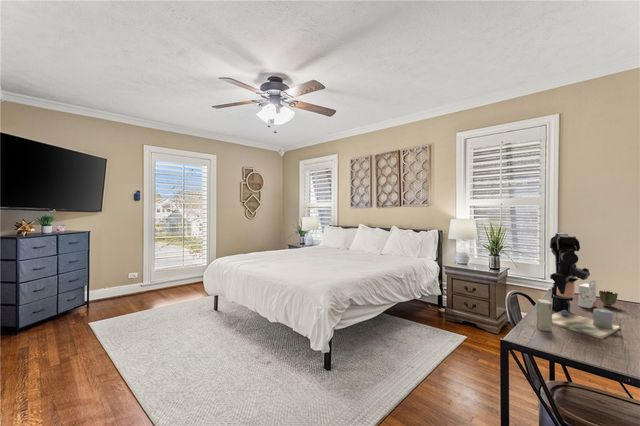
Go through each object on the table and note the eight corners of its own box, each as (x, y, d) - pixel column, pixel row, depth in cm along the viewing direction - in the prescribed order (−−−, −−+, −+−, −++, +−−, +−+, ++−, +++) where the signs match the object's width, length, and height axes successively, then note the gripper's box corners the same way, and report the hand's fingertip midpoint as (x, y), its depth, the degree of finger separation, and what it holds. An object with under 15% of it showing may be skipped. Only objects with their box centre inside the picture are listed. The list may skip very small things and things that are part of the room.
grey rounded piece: (590, 325, 134) (591, 309, 133) (595, 322, 137) (596, 307, 137) (609, 330, 128) (610, 314, 128) (614, 327, 131) (615, 312, 131)
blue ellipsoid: (559, 315, 145) (559, 309, 145) (562, 314, 147) (562, 308, 146) (567, 317, 142) (567, 311, 142) (569, 316, 144) (569, 310, 144)
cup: (594, 304, 167) (595, 290, 167) (606, 304, 168) (607, 290, 167) (608, 308, 159) (609, 294, 159) (621, 308, 160) (621, 294, 160)
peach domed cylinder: (554, 294, 145) (555, 280, 145) (560, 293, 149) (560, 279, 148) (570, 298, 140) (571, 283, 140) (576, 296, 143) (576, 282, 143)
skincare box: (552, 332, 128) (553, 304, 127) (539, 330, 129) (540, 302, 129) (547, 326, 133) (548, 300, 133) (536, 325, 135) (537, 298, 135)
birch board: (540, 320, 140) (540, 318, 140) (560, 313, 152) (560, 310, 151) (602, 339, 121) (602, 336, 121) (620, 328, 133) (620, 326, 133)
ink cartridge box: (584, 303, 168) (585, 278, 167) (595, 306, 163) (596, 280, 163) (577, 305, 164) (578, 279, 163) (588, 308, 159) (589, 281, 159)
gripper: (579, 266, 132) (578, 300, 133) (595, 262, 142) (594, 294, 142) (550, 261, 142) (549, 294, 142) (566, 259, 151) (565, 289, 152)
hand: (565, 293), depth 144 cm, fingers closed on peach domed cylinder, 6 cm apart
